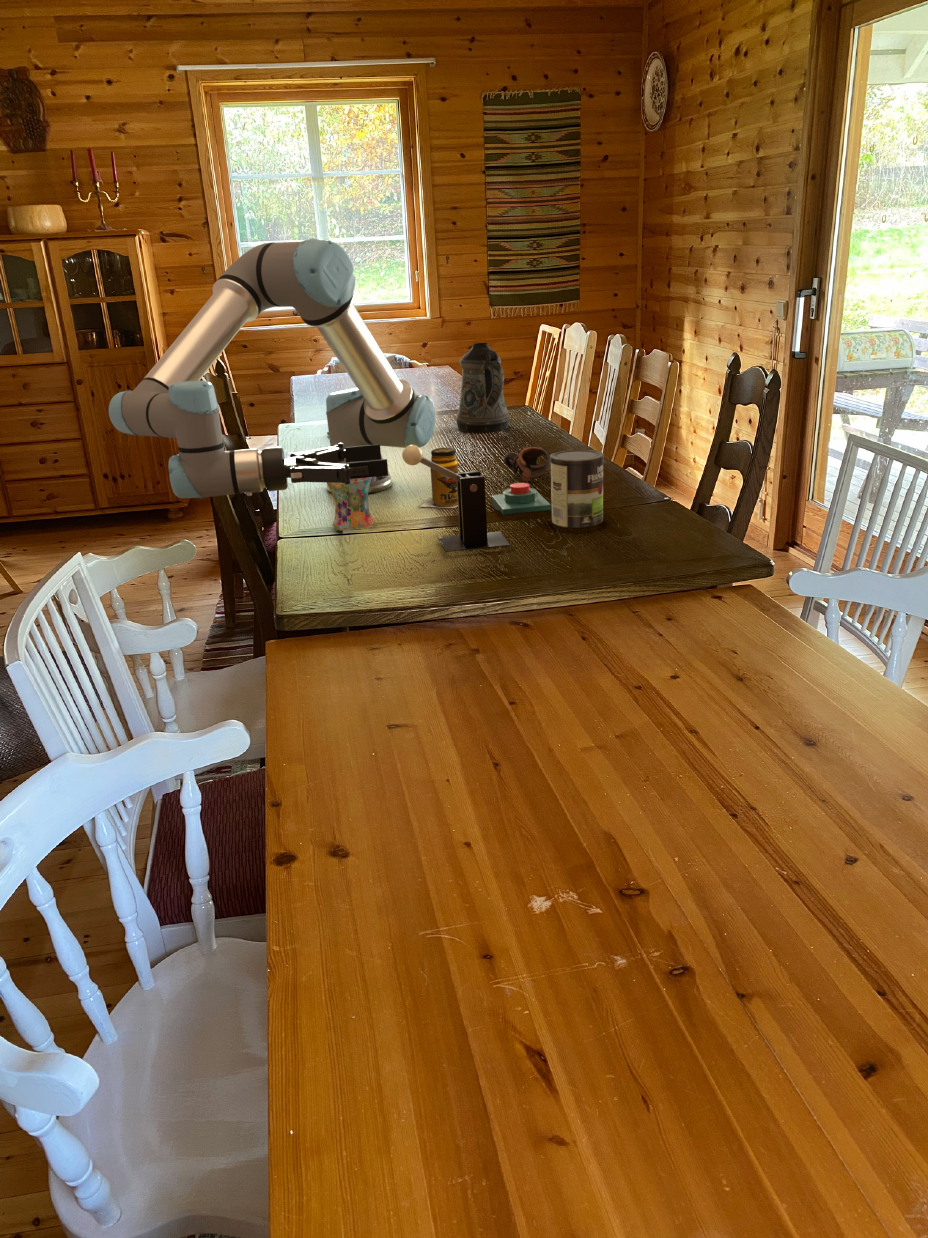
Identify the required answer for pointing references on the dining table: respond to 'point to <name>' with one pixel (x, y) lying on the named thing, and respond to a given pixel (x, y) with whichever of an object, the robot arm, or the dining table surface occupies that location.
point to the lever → (426, 461)
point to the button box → (519, 502)
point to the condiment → (443, 480)
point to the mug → (351, 504)
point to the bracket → (472, 517)
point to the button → (520, 488)
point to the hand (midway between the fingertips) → (384, 459)
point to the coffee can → (577, 488)
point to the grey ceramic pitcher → (482, 392)
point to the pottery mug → (528, 462)
